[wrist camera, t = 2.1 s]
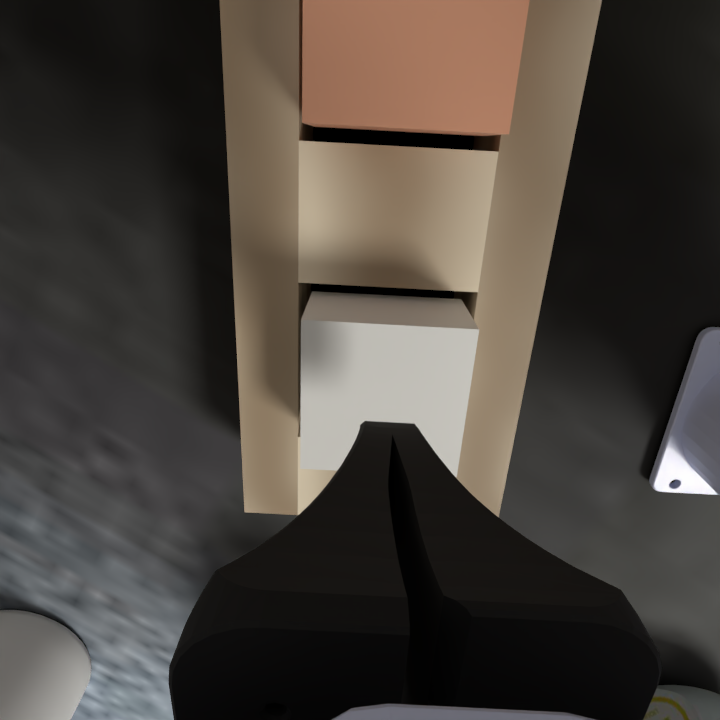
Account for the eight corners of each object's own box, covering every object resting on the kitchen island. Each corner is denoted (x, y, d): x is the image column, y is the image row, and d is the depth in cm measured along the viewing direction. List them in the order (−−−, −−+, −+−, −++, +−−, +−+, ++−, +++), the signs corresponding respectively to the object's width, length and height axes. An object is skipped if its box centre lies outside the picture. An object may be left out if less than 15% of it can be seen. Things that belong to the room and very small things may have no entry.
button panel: (589, -197, 15) (664, -312, 11) (477, 466, 24) (496, 525, 20) (245, -217, 15) (203, -339, 11) (263, 455, 24) (244, 512, 20)
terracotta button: (512, -77, 13) (550, -136, 10) (483, 135, 15) (509, 134, 12) (317, -88, 13) (303, -152, 10) (314, 126, 15) (302, 122, 12)
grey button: (461, 299, 17) (479, 329, 14) (443, 428, 19) (456, 476, 16) (312, 291, 17) (301, 319, 14) (310, 421, 19) (300, 468, 16)
